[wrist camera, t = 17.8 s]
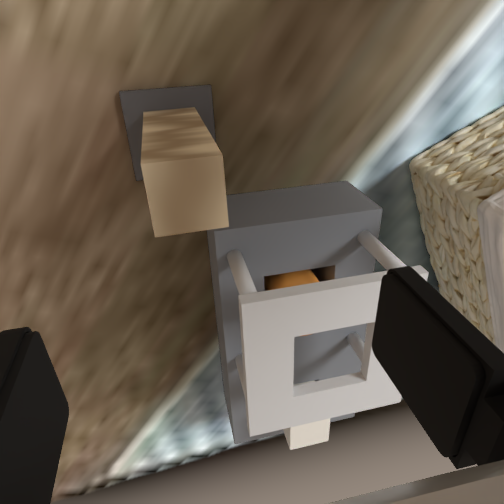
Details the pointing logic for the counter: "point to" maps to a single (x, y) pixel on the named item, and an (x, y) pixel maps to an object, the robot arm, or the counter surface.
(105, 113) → the counter surface
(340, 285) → the grey housing
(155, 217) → the wooden rectangular block
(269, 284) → the plunger
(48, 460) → the robot arm
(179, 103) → the pad
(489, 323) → the storage basket
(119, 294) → the counter surface
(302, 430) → the on button
